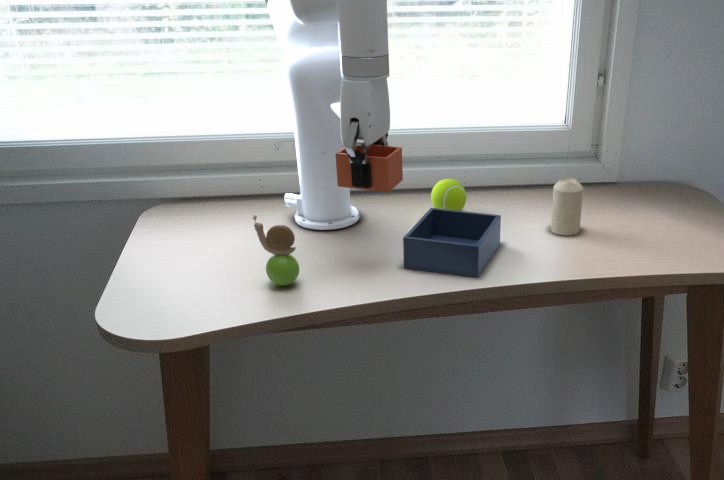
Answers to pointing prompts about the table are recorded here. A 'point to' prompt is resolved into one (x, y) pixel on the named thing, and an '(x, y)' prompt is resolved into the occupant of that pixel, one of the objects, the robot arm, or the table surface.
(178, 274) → the table surface
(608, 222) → the table surface
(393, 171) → the small tote
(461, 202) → the tennis ball
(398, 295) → the table surface
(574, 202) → the candle
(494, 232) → the big tote
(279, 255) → the snail figurine
